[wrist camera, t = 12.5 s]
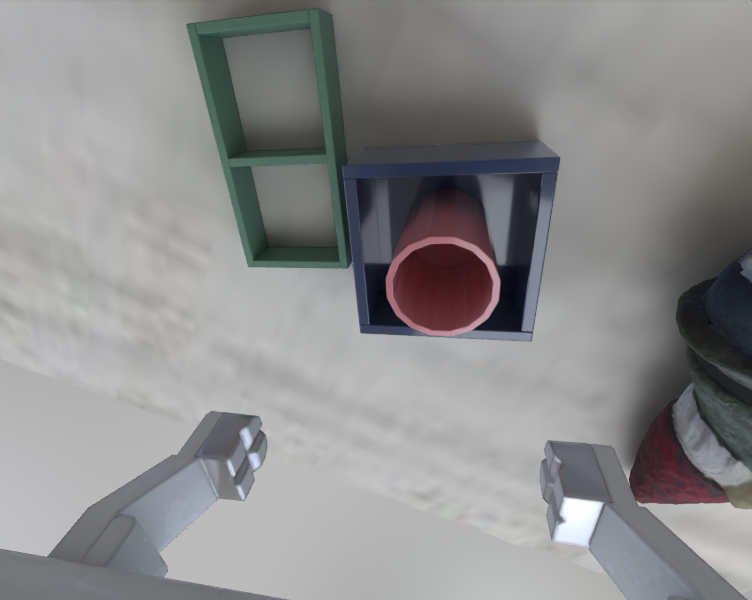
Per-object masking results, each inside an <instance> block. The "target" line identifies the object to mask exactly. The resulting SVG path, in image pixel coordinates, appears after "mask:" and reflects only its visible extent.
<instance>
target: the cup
mask: <svg viewBox="0 0 752 600" xmlns="http://www.w3.org/2000/svg"><path fill="white" fill-rule="evenodd" d="M500 284H501V280H500V274H499V269H498V264H497V259H496V254H495V249H494V244H493V239H492V234H491V229H490V224H489V221H488V218H487V215H486V213H485V211H484V209H483V207H482V206H481V205H480V203H479V202H478V201H477V200H475V199H474V198H473V197H471V196H470V195H468V194H466V193H464V192H460V191H456V190H440V191H436V192H433V193H430V194H428V195H427V196H425V197H423V198H422V199H421V200H419V201H418V202H417V203H416V204H415V206H414V207H413V208H412V210H411V211H410V213H409V216H408V218H407V221H406V223H405V226H404V229H403V232H402V234H401V237H400V240H399V243H398V245H397V248H396V251H395V254H394V257H393V259H392V262H391V265H390V268H389V270H388V273H387V276H386V293H387V299H388V301H389V303H390V305H391V307H392V308H393V310H394V312H395V314H396V315H397V316H398V317H399V318H400V319H401V320H402V321H404V322H405V323H406V324H407V325H408V326H409V327H411V328H413V329H415V330H418V331H420V332H423V333H426V334H428V335H434V336H454V335H458V334H461V333H465V332H468V331H471V330H473V329H474V328H476V327H477V326H479V325H480V324H481V323H483V322H484V321H485V320H487V319H488V318H489V316H490V315H491V313H492V311H493V310H494V308H495V307H496V305H497V303H498V301H499V295H500Z"/></svg>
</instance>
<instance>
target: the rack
mask: <svg viewBox="0 0 752 600" xmlns="http://www.w3.org/2000/svg"><path fill="white" fill-rule="evenodd" d="M309 28H311V35H312V43H313V51H314V59H315V67H316V75H317V83H318V90H319V98H320V106H321V114H322V122H323V130H324V138H325V146H326V148H308V149H287V150H266V151H247V149H246V145H245V140H244V136H243V131H242V126H241V122H240V117H239V113H238V108H237V104H236V99H235V95H234V90H233V86H232V81H231V77H230V72H229V68H228V63H227V59H226V54H225V49H224V45H223V40H222V38H227V37H237V36H246V35H255V34H264V33H273V32H282V31H291V30H300V29H309ZM187 29H188V33H189V37H190V41H191V45H192V49H193V53H194V57H195V60H196V64H197V68H198V72H199V76H200V80H201V84H202V88H203V92H204V96H205V100H206V104H207V108H208V111H209V115H210V119H211V123H212V127H213V131H214V135H215V139H216V143H217V147H218V151H219V155H220V159H221V162H222V166H223V170H224V174H225V178H226V182H227V186H228V190H229V194H230V198H231V202H232V206H233V210H234V213H235V217H236V221H237V225H238V229H239V233H240V237H241V241H242V245H243V249H244V253H245V257H246V261H247V264H248V267H281V268H346V269H347V268H348V267H349V266H350V264H351V262H352V252H351V243H350V234H349V225H348V215H347V206H346V197H345V188H344V178H343V170H342V165H343V164H345V163H346V162H347V155H346V145H345V136H344V126H343V116H342V106H341V97H340V87H339V77H338V67H337V57H336V48H335V38H334V28H333V18H332V15H331V14H329V13H327V12H325V11H322V10H320V9H318V8H314V9H309V10H308V9H305V10H297V11H289V12H280V13H272V14H264V15H256V16H247V17H239V18H231V19H222V20H214V21H206V22H198V23H189V24H187ZM320 163H328V170H329V178H330V186H331V194H332V202H333V210H334V217H335V225H336V233H337V241H338V247H268V244H267V240H266V235H265V231H264V226H263V222H262V217H261V212H260V208H259V203H258V199H257V194H256V190H255V185H254V181H253V176H252V172H251V167H250V166H269V165H294V164H320Z"/></svg>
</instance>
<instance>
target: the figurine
mask: <svg viewBox="0 0 752 600" xmlns="http://www.w3.org/2000/svg"><path fill="white" fill-rule="evenodd" d="M676 320H677V324H678V327H679V331H680V335H681V336H682V337H683V339H684V340H685V341H686V343H687V344H688V345H687V353H686V356H687V361H688V366H689V370H690V375H691V379H692V383H691V384H690V385H689V386H688V387H687V388H686V390H685V391H684V392H683V394H682V395H681V397H680V398H678V399H676V400H674V401H672V402H670V403H669V404H668V405H667V406H666V407H665V409H664V410H663V411H662V412H661V413H660V414H659V416H658V417H657V418H656V419H655V421H654V422H653V423H652V425H651V427H650V429H649V431H648V432H647V434H646V436H645V438H644V439H643V441H642V443H641V445H640V447H639V449H638V452H637V455H636V458H635V462H634V465H633V467H632V469H631V472H630V477H629V482H630V488H631V490H632V493H633V495H634V497H635V500H636V501H638V502H640V503H642V504H643V503H660V504H698V503H726V502H730V503H731V504H732V505H733V506H734V507H735V508H741V509H752V248H751V249H750V250H748V251H747V253H746V254H745V255H744V256H742V257H741V258H739V259H738V260H736V261H735V262H734V263H732V264H731V265H729V266H728V267H727V268H726V269H725V270H724V271H723V272H722V273H721V274H720V276H719V277H716V278H713V279H710V280H706V281H703V282H701V283H699V284H697V285H695V286H694V287H692V288H691V289H689V290H688V291H686V292H684V293H683V294H682V295H681V297H680V298H679V301H678V307H677V314H676Z"/></svg>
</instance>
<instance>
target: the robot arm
mask: <svg viewBox="0 0 752 600" xmlns="http://www.w3.org/2000/svg"><path fill="white" fill-rule="evenodd" d="M261 426H262V422H261V419H260V417H259V416H254V415H245V414H236V413H228V412H217V411H211V412H209V413H208V414H206V415H205V417H204V418H203V420H202V421H201V422H200V424H199V425H198V427H197V428H196V429H195V431H194V432H193V434H192V435H191V436H190V438H189V439H188V440H187V442H186V443H185V445H184V446H183V448H182V449H181V450H180V452H179V453H178V454H177V455H171V456H170V457H168V458H167V459H165V460H163V461H162V462H161V463H159V464H157V465H156V466H154V467H152V468H151V469H149V470H148V471H146V472H144V473H143V474H141V475H140V476H138V477H136V478H135V479H133V480H132V481H130V482H128V483H127V484H125V485H124V486H122V487H121V488H119V489H117V490H116V491H114V492H113V493H111V494H109V495H108V496H106V497H105V498H103V499H101V500H100V501H98V502H97V503H95V504H93V505H92V506H90V507H89V508H87V510H86V511H85V512H84V513H83V514H82V516H81V517H80V518H79V519H78V520H77V522H76V523H75V524H74V525H73V526H72V528H71V529H70V530H69V531H68V532H67V534H66V535H65V536H64V537H63V538H62V540H61V541H60V542H59V543H58V544H57V546H56V547H55V548H54V549H53V551H52V552H51V553H50V554H49V556H47V557H44V556H38V555H33V554H27V553H21V552H16V551H10V550H4V549H0V600H287V599H282V598H276V597H270V596H264V595H259V594H253V593H248V592H242V591H236V590H231V589H225V588H219V587H214V586H207V585H203V584H196V583H191V582H186V581H180V580H174V579H168V578H164V577H165V575H166V573H167V572H168V569H167V565H166V563H165V562H164V560H163V559H162V557H161V556H160V554H159V552H161V551H162V550H163V549H164V548H165V547H166V546H167V545H168V544H170V543H171V542H172V541H173V540H174V539H175V538H176V537H177V536H178V535H179V534H180V533H182V532H183V531H184V530H185V529H186V528H187V527H188V526H189V525H190V524H192V523H193V522H194V521H195V520H196V519H197V518H198V517H199V516H200V515H201V514H203V513H204V512H205V511H206V510H207V509H208V508H209V507H210V506H212V505H213V504H214V503H215V502H216V501H217V498H219V499H230V500H239V501H245V499H246V497H247V495H248V493H249V491H250V489H251V487H252V485H253V483H254V480H255V479H254V475H253V472H255V471H256V470H257V469H259V468H260V467H261V466H262V464H263V462H264V460H265V457H266V452H267V438H266V435H265V434H264V433H263V432H262V431H261V430H260V428H261ZM544 451H545V456H546V458H545V459H544V460H542V462H541V468H540V484H541V491H542V496H543V499H544V500H545V501H546V502H547V503H548V504H549V506H548V510H547V514H546V516H547V521H548V525H549V530H550V535H551V539H552V541H554V542H560V543H567V544H573V545H579V546H586V547H589V550H590V551H591V553H592V554H593V555H594V557H595V558H596V559H597V561H598V562H599V563H600V564H601V566H602V567H603V568H604V570H605V571H606V572H607V574H608V575H609V576H610V578H611V579H612V580H613V581H614V583H615V584H616V585H617V587H618V588H619V589H620V591H621V592H622V593H623V595H624V596H625V597H626V599H627V600H747V599H746V598H745V597H744V596H742V595H741V594H740V593H739V592H738V591H737V590H736V589H735V588H734V587H733V586H731V585H730V584H729V583H728V582H727V581H726V580H725V579H724V578H723V577H722V576H720V575H719V574H718V573H717V572H716V571H715V570H714V569H713V568H712V567H711V566H709V565H708V564H707V563H706V562H705V561H704V560H703V559H702V558H701V557H700V556H698V555H697V554H696V553H695V552H694V551H693V550H692V549H691V548H690V547H688V546H687V545H686V544H685V543H684V542H683V541H682V540H681V539H680V538H679V537H677V536H676V535H675V534H674V533H673V532H672V531H671V530H670V529H669V528H668V527H666V526H665V525H664V524H663V523H662V522H661V521H660V520H659V519H658V518H657V517H655V516H654V515H653V514H652V513H651V512H650V511H649V510H648V509H647V508H646V507H640V506H638V504H637V502H636V500H635V497H634V495H633V493H632V490H631V488H630V486H629V483H628V481H627V478H626V476H625V474H624V471H623V469H622V467H621V464H620V462H619V460H618V457H617V455H616V453H615V450H614V449H613V448H612V447H611V446H609V445H598V444H587V443H577V442H563V441H550V440H548V441H547V442H546V444H545V448H544Z"/></svg>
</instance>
